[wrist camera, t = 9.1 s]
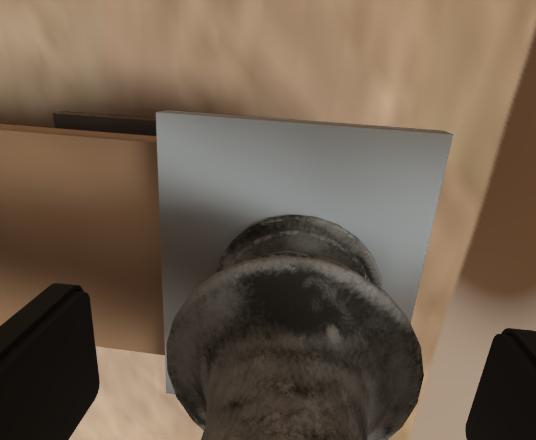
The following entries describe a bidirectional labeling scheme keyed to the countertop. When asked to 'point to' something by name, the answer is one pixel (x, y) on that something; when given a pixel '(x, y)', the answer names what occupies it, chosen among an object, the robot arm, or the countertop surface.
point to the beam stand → (106, 123)
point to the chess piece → (295, 340)
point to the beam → (200, 208)
